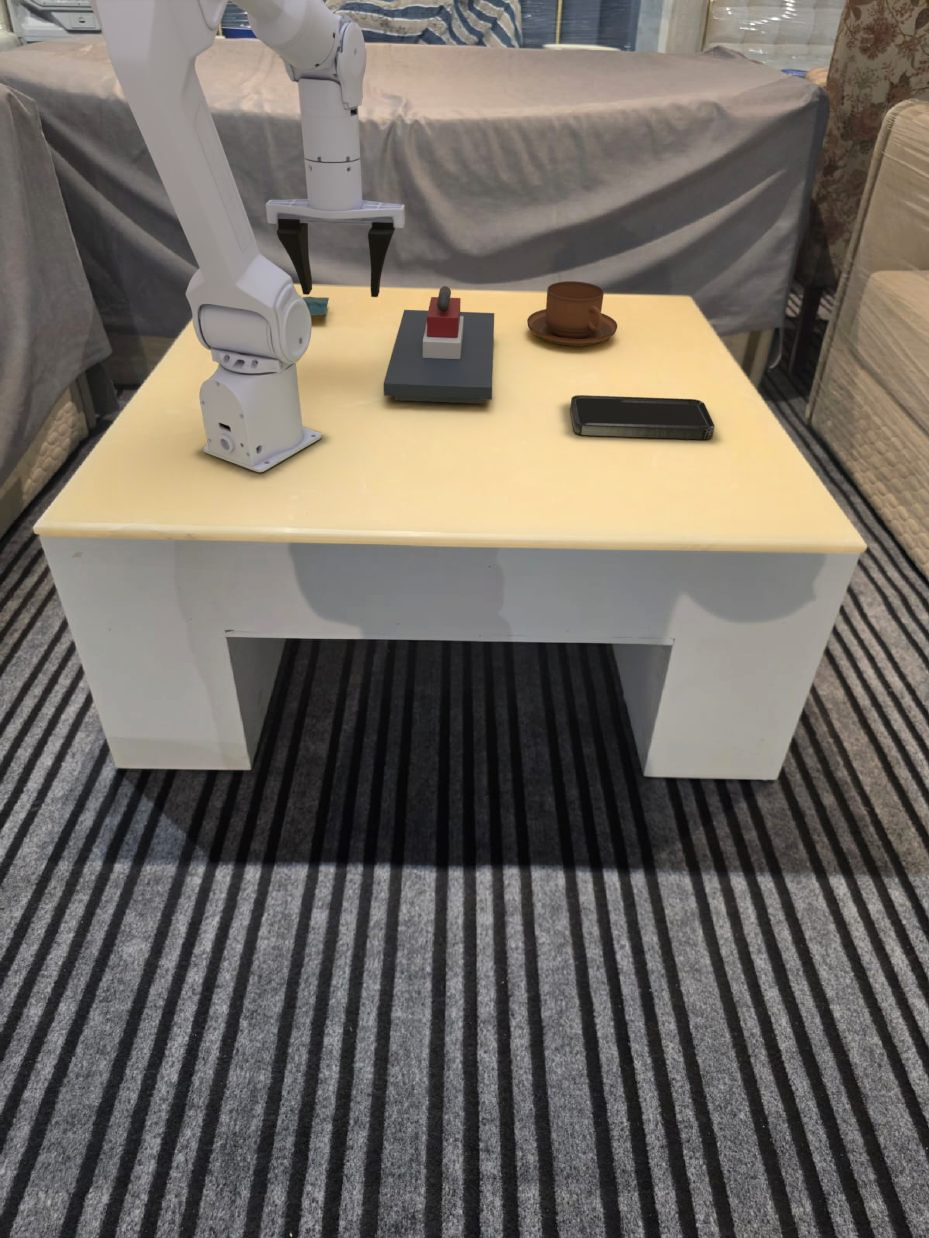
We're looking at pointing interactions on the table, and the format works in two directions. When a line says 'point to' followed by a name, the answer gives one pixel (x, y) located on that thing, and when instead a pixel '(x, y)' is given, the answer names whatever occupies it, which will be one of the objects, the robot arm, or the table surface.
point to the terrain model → (316, 305)
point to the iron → (443, 327)
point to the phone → (641, 417)
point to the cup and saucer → (573, 315)
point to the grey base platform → (442, 363)
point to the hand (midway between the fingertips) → (341, 293)
